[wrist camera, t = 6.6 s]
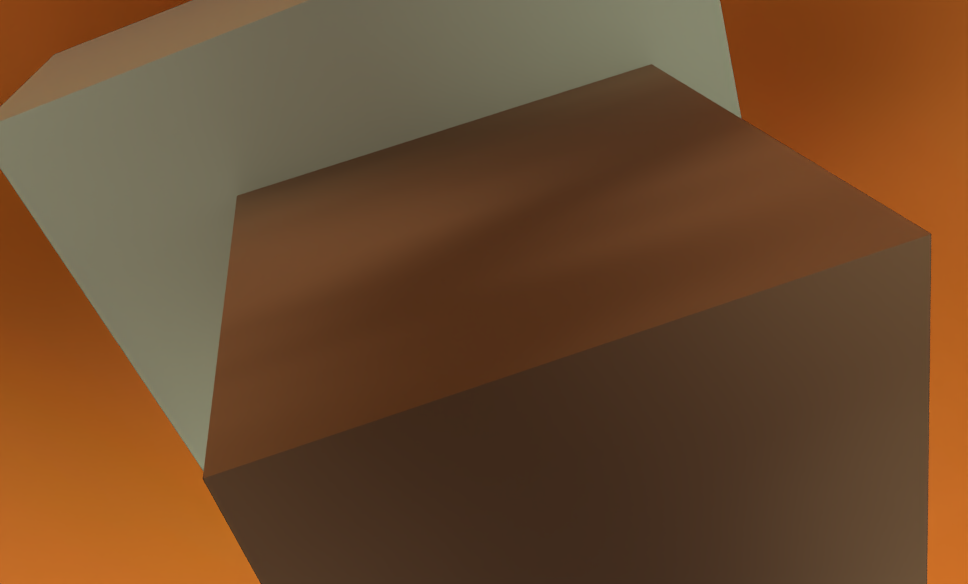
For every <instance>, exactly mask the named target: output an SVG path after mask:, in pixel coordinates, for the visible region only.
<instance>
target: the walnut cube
mask: <svg viewBox="0 0 968 584" xmlns="http://www.w3.org/2000/svg"><path fill="white" fill-rule="evenodd" d="M930 291H931V234H930V233H929V232H927V231H925V230H924V229H922V228H921V227H919V226H917V225H916V224H914V223H912V222H911V221H909V220H907V219H906V218H904V217H902V216H901V215H899V214H897V213H896V212H894V211H893V210H891V209H889V208H888V207H886V206H884V205H883V204H881V203H879V202H878V201H876V200H874V199H873V198H871V197H870V196H868V195H866V194H865V193H863V192H861V191H860V190H858V189H856V188H855V187H853V186H851V185H850V184H848V183H846V182H845V181H843V180H842V179H840V178H838V177H837V176H835V175H833V174H832V173H830V172H828V171H827V170H825V169H823V168H822V167H820V166H818V165H817V164H815V163H814V162H812V161H810V160H809V159H807V158H805V157H804V156H802V155H800V154H799V153H797V152H795V151H794V150H792V149H791V148H789V147H787V146H786V145H784V144H782V143H781V142H779V141H777V140H776V139H774V138H772V137H771V136H769V135H767V134H766V133H764V132H763V131H761V130H759V129H758V128H756V127H754V126H753V125H751V124H749V123H748V122H746V121H744V120H743V119H741V118H739V117H738V116H736V115H735V114H733V113H731V112H730V111H728V110H726V109H725V108H723V107H721V106H720V105H718V104H716V103H715V102H713V101H712V100H710V99H708V98H707V97H705V96H703V95H702V94H700V93H698V92H697V91H695V90H693V89H692V88H690V87H688V86H687V85H685V84H684V83H682V82H680V81H679V80H677V79H675V78H674V77H672V76H670V75H669V74H667V73H665V72H664V71H662V70H660V69H659V68H657V67H656V66H654V65H652V64H650V65H647V66H644V67H641V68H638V69H634V70H631V71H628V72H625V73H622V74H619V75H616V76H612V77H609V78H606V79H603V80H600V81H597V82H593V83H590V84H587V85H584V86H581V87H578V88H574V89H571V90H568V91H565V92H562V93H559V94H555V95H552V96H549V97H546V98H543V99H540V100H536V101H533V102H530V103H527V104H524V105H521V106H518V107H514V108H511V109H508V110H505V111H502V112H499V113H496V114H492V115H489V116H486V117H483V118H480V119H477V120H474V121H470V122H467V123H464V124H461V125H458V126H455V127H451V128H448V129H445V130H442V131H439V132H436V133H433V134H429V135H426V136H423V137H420V138H417V139H414V140H411V141H407V142H404V143H401V144H398V145H395V146H392V147H389V148H385V149H382V150H379V151H376V152H373V153H370V154H367V155H363V156H360V157H357V158H354V159H351V160H348V161H345V162H341V163H338V164H335V165H332V166H329V167H326V168H322V169H319V170H316V171H313V172H310V173H307V174H304V175H300V176H297V177H294V178H291V179H288V180H285V181H282V182H278V183H275V184H272V185H269V186H266V187H263V188H260V189H256V190H253V191H250V192H247V193H244V194H241V195H238V196H237V199H236V207H235V215H234V224H233V232H232V240H231V248H230V257H229V265H228V273H227V282H226V290H225V298H224V306H223V315H222V323H221V331H220V339H219V348H218V356H217V364H216V372H215V381H214V389H213V397H212V406H211V414H210V422H209V430H208V439H207V447H206V455H205V463H204V472H203V480H204V482H205V484H206V485H207V487H208V489H209V491H210V493H211V495H212V496H213V498H214V500H215V502H216V504H217V505H218V507H219V509H220V511H221V513H222V514H223V516H224V518H225V520H226V522H227V523H228V525H229V527H230V529H231V531H232V532H233V534H234V536H235V538H236V540H237V541H238V543H239V545H240V547H241V549H242V550H243V552H244V554H245V556H246V558H247V560H248V561H249V563H250V565H251V567H252V569H253V570H254V572H255V574H256V576H257V578H258V579H259V581H260V583H261V584H927V535H928V454H929V373H930Z"/></svg>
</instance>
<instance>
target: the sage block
mask: <svg viewBox="0 0 968 584" xmlns="http://www.w3.org/2000/svg"><path fill="white" fill-rule="evenodd" d="M650 64H652V65H654V66H656V67H657V68H659V69H660V70H662V71H664V72H665V73H667V74H669V75H670V76H672V77H674V78H675V79H677V80H679V81H680V82H682V83H684V84H685V85H687V86H688V87H690V88H692V89H693V90H695V91H697V92H698V93H700V94H702V95H703V96H705V97H707V98H708V99H710V100H712V101H713V102H715V103H716V104H718V105H720V106H721V107H723V108H725V109H726V110H728V111H730V112H731V113H733V114H735V115H736V116H738V117H739V118H741V113H740V108H739V102H738V97H737V91H736V86H735V80H734V75H733V69H732V64H731V58H730V53H729V47H728V42H727V36H726V31H725V25H724V20H723V14H722V9H721V3H720V0H192V1H189V2H187V3H184V4H182V5H179V6H177V7H174V8H171V9H169V10H166V11H164V12H161V13H159V14H156V15H153V16H151V17H148V18H146V19H143V20H141V21H138V22H136V23H133V24H130V25H128V26H125V27H123V28H120V29H118V30H115V31H113V32H110V33H107V34H105V35H102V36H100V37H97V38H95V39H92V40H90V41H87V42H84V43H82V44H79V45H77V46H74V47H72V48H69V49H67V50H64V51H61V52H59V53H56V54H54V55H53V56H52V57H51V58H50V59H49V60H48V61H47V62H46V63H45V64H44V65H43V66H42V67H41V68H40V69H39V70H38V71H37V72H36V73H35V74H34V75H33V76H31V77H30V78H29V79H28V80H27V81H26V82H25V83H24V84H23V85H22V86H21V87H20V88H19V89H18V90H17V91H16V92H15V93H14V94H13V95H12V96H11V97H10V98H9V99H8V100H7V101H6V102H5V103H4V104H3V105H2V106H1V107H0V169H1V170H2V172H3V173H4V175H5V176H6V177H7V179H8V180H9V182H10V183H11V185H12V186H13V188H14V189H15V191H16V192H17V194H18V195H19V197H20V198H21V200H22V201H23V203H24V204H25V206H26V207H27V209H28V210H29V212H30V213H31V215H32V216H33V218H34V219H35V221H36V222H37V224H38V225H39V227H40V228H41V230H42V231H43V233H44V234H45V236H46V237H47V239H48V240H49V242H50V243H51V245H52V246H53V248H54V249H55V251H56V252H57V254H58V255H59V256H60V258H61V259H62V261H63V262H64V264H65V265H66V267H67V268H68V270H69V271H70V273H71V274H72V276H73V277H74V279H75V280H76V282H77V283H78V285H79V286H80V288H81V289H82V291H83V292H84V294H85V295H86V297H87V298H88V300H89V301H90V303H91V304H92V306H93V307H94V309H95V310H96V312H97V313H98V315H99V316H100V318H101V319H102V321H103V322H104V324H105V325H106V327H107V328H108V330H109V331H110V332H111V334H112V335H113V337H114V338H115V340H116V341H117V343H118V344H119V346H120V347H121V349H122V350H123V352H124V353H125V355H126V356H127V358H128V359H129V361H130V362H131V364H132V365H133V367H134V368H135V370H136V371H137V373H138V374H139V376H140V377H141V379H142V380H143V382H144V383H145V385H146V386H147V388H148V389H149V391H150V392H151V394H152V395H153V397H154V398H155V400H156V401H157V403H158V404H159V406H160V407H161V408H162V410H163V411H164V413H165V414H166V416H167V417H168V419H169V420H170V422H171V423H172V425H173V426H174V428H175V429H176V431H177V432H178V434H179V435H180V437H181V438H182V440H183V441H184V443H185V444H186V446H187V447H188V449H189V450H190V452H191V453H192V455H193V456H194V458H195V459H196V461H197V462H198V464H199V465H200V467H201V468H202V470H203V471H204V463H205V455H206V447H207V439H208V430H209V422H210V414H211V406H212V397H213V389H214V381H215V372H216V364H217V356H218V348H219V339H220V331H221V323H222V315H223V306H224V298H225V290H226V282H227V273H228V265H229V257H230V248H231V240H232V232H233V224H234V215H235V207H236V199H237V196H238V195H241V194H244V193H247V192H250V191H253V190H256V189H260V188H263V187H266V186H269V185H272V184H275V183H278V182H282V181H285V180H288V179H291V178H294V177H297V176H300V175H304V174H307V173H310V172H313V171H316V170H319V169H322V168H326V167H329V166H332V165H335V164H338V163H341V162H345V161H348V160H351V159H354V158H357V157H360V156H363V155H367V154H370V153H373V152H376V151H379V150H382V149H385V148H389V147H392V146H395V145H398V144H401V143H404V142H407V141H411V140H414V139H417V138H420V137H423V136H426V135H429V134H433V133H436V132H439V131H442V130H445V129H448V128H451V127H455V126H458V125H461V124H464V123H467V122H470V121H474V120H477V119H480V118H483V117H486V116H489V115H492V114H496V113H499V112H502V111H505V110H508V109H511V108H514V107H518V106H521V105H524V104H527V103H530V102H533V101H536V100H540V99H543V98H546V97H549V96H552V95H555V94H559V93H562V92H565V91H568V90H571V89H574V88H578V87H581V86H584V85H587V84H590V83H593V82H597V81H600V80H603V79H606V78H609V77H612V76H616V75H619V74H622V73H625V72H628V71H631V70H634V69H638V68H641V67H644V66H647V65H650Z"/></svg>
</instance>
